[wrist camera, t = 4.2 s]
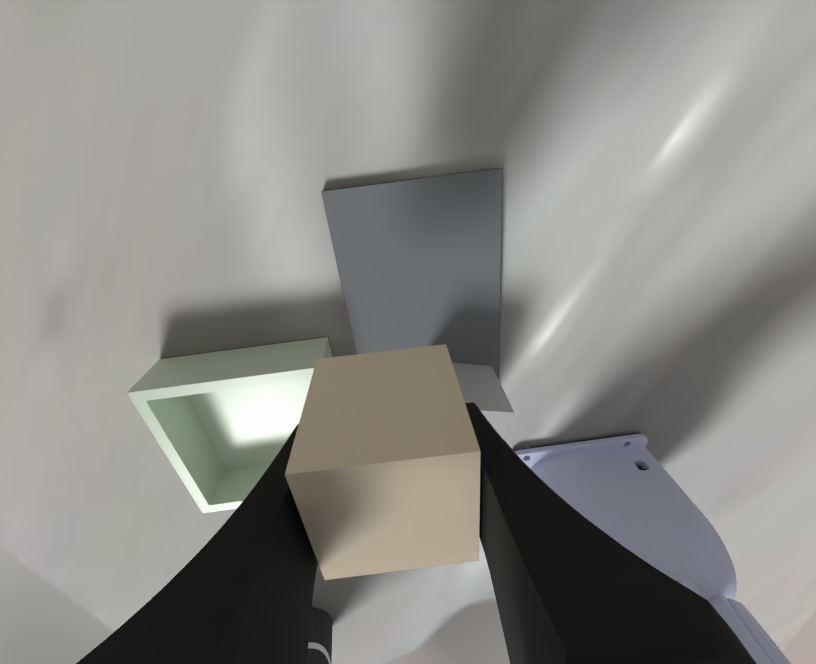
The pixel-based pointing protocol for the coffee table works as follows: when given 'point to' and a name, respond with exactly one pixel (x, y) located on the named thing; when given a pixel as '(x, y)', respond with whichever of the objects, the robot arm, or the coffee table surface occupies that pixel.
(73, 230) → the coffee table surface
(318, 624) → the coffee cup
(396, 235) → the slate mat
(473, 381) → the matte grey cube
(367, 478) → the tan wooden cube
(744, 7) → the coffee table surface
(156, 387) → the green bin
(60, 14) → the coffee table surface
